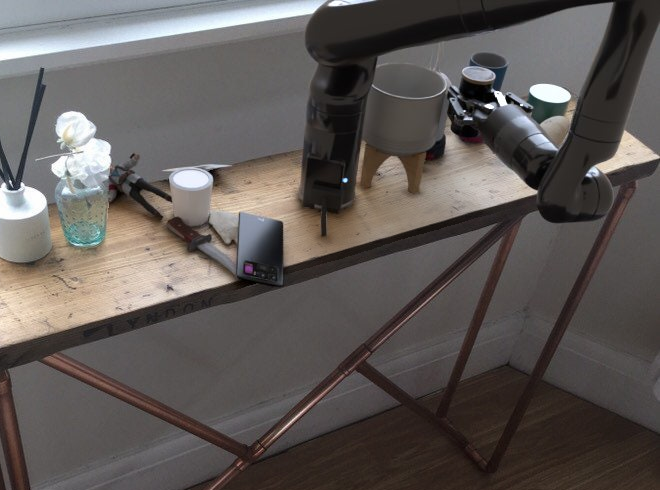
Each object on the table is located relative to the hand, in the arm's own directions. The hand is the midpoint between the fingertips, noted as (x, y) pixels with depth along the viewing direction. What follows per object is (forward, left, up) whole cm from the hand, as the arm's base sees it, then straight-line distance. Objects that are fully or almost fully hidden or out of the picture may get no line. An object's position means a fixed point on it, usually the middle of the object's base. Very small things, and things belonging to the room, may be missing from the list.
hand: (466, 89), depth 147 cm
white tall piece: (+6, +6, -16) cm, 18 cm away
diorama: (-17, +41, -14) cm, 47 cm away
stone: (+17, -16, -16) cm, 28 cm away
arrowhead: (-34, +26, -14) cm, 45 cm away
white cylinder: (-30, +37, -16) cm, 50 cm away
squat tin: (+29, -15, -16) cm, 36 cm away
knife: (-35, +31, -15) cm, 49 cm away
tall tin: (-2, -1, -6) cm, 7 cm away
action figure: (-32, +41, -13) cm, 54 cm away
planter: (-5, +9, -16) cm, 19 cm away
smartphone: (-36, +24, -14) cm, 45 cm away
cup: (+15, -2, -16) cm, 22 cm away
